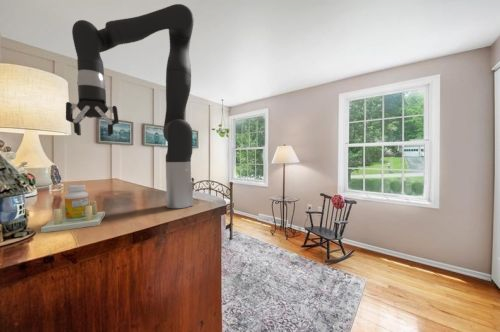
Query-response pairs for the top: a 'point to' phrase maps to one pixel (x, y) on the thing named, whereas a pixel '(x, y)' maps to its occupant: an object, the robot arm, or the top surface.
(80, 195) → the supplement bottle
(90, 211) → the standoff chassis
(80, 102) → the robot arm
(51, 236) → the top surface
